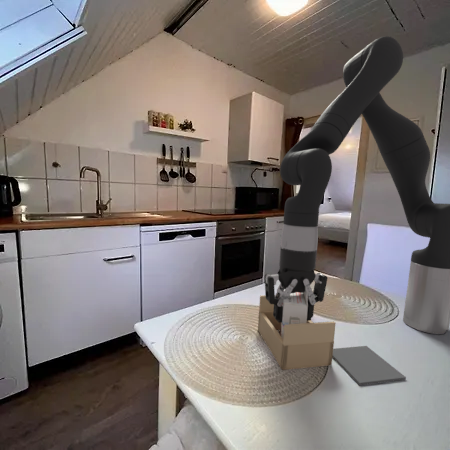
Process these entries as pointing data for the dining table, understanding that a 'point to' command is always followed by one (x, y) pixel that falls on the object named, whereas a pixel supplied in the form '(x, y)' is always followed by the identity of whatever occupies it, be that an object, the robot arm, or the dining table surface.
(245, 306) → the dining table surface
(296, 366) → the carton
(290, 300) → the ink cartridge box
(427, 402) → the dining table surface
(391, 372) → the mat
